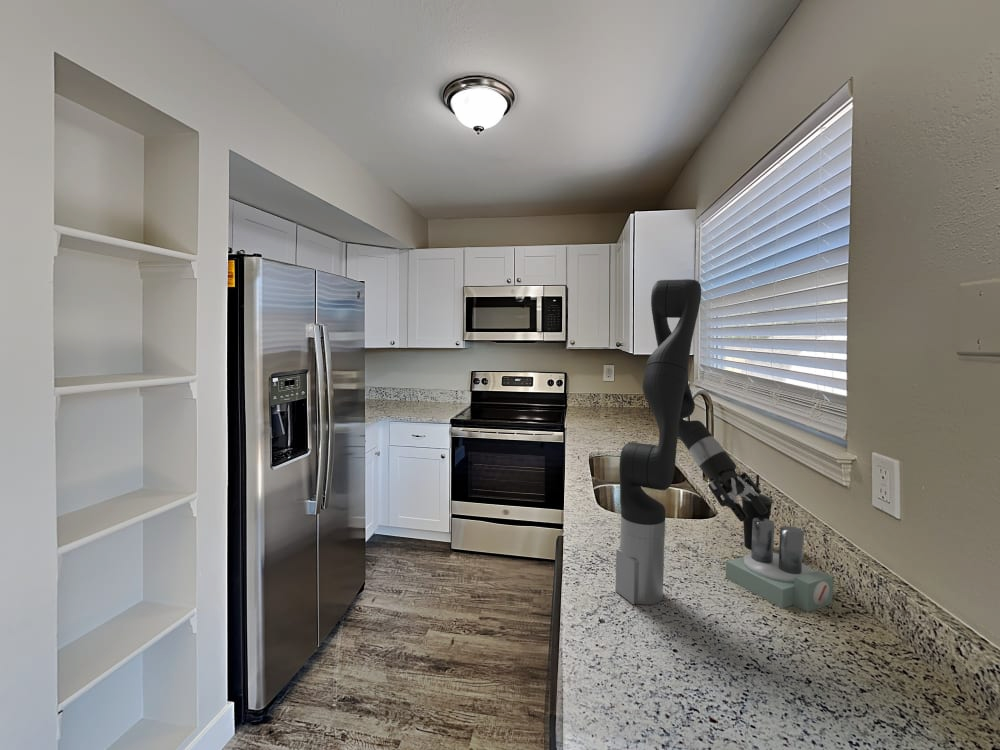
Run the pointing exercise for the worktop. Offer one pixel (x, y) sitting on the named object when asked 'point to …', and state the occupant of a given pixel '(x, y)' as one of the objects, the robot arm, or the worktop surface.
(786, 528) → the steel weight
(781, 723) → the worktop surface
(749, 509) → the drinking cup
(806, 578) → the kitchen scale
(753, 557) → the steel weight
